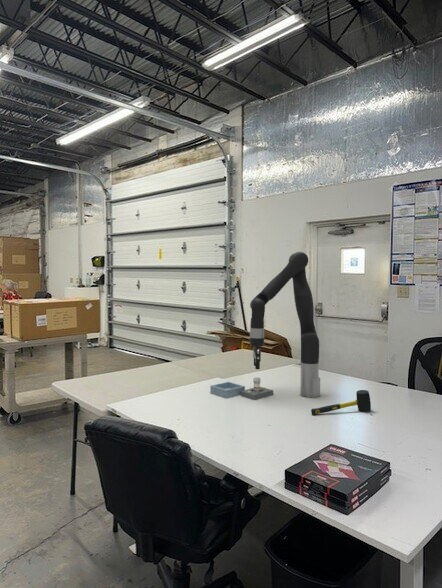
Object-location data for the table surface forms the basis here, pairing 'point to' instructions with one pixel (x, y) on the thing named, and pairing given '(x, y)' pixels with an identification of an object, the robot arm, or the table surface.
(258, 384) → the cylinder
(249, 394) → the fuse block
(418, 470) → the table surface
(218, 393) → the parts tray
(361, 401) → the mallet
